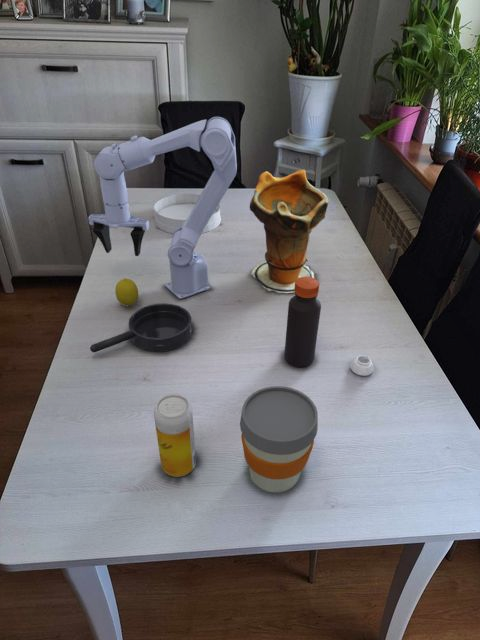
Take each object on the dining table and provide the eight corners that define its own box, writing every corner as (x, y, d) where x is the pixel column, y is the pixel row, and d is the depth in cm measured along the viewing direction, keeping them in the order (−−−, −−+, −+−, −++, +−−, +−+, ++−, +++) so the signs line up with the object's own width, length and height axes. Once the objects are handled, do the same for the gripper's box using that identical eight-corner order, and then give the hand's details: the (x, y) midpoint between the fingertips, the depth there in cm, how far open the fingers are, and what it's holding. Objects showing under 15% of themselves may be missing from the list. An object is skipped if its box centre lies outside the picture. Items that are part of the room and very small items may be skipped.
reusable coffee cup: (306, 443, 91) (314, 385, 82) (313, 501, 82) (324, 443, 72) (239, 443, 91) (240, 384, 81) (239, 502, 81) (240, 443, 72)
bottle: (297, 345, 114) (305, 270, 102) (319, 359, 111) (331, 283, 98) (277, 357, 111) (283, 281, 98) (299, 372, 107) (308, 295, 94)
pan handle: (132, 334, 112) (131, 328, 111) (135, 338, 111) (134, 332, 110) (89, 350, 107) (88, 344, 106) (92, 355, 106) (91, 348, 105)
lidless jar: (365, 360, 111) (346, 365, 109) (367, 350, 109) (348, 355, 108) (377, 373, 108) (357, 379, 106) (379, 363, 106) (360, 369, 104)
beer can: (162, 452, 88) (154, 393, 79) (196, 451, 89) (192, 391, 80) (160, 480, 84) (151, 420, 74) (195, 478, 84) (191, 419, 75)
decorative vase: (268, 307, 126) (274, 203, 109) (235, 265, 142) (236, 169, 125) (337, 292, 133) (353, 192, 116) (298, 254, 149) (307, 161, 132)
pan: (173, 309, 124) (172, 296, 121) (203, 337, 115) (203, 324, 113) (120, 328, 117) (118, 315, 114) (148, 360, 108) (146, 347, 106)
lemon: (135, 313, 122) (130, 286, 117) (114, 310, 123) (109, 282, 117) (143, 301, 126) (139, 274, 121) (123, 298, 127) (118, 271, 122)
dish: (217, 236, 157) (217, 221, 154) (149, 233, 156) (147, 218, 153) (223, 208, 174) (222, 195, 171) (161, 206, 174) (159, 192, 170)
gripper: (79, 204, 113) (89, 257, 122) (140, 211, 112) (146, 263, 121) (91, 193, 119) (100, 244, 127) (149, 199, 118) (154, 250, 126)
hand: (123, 252), depth 125 cm, fingers open, 7 cm apart
